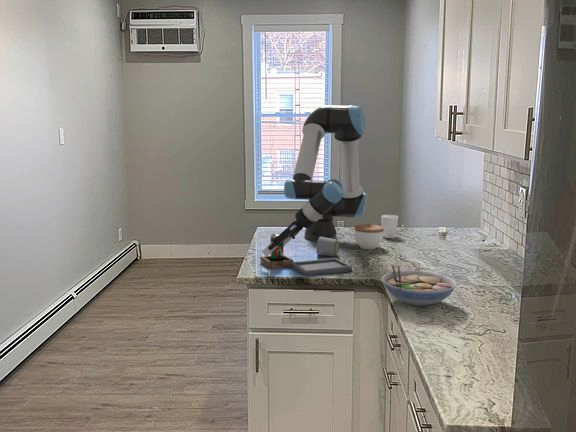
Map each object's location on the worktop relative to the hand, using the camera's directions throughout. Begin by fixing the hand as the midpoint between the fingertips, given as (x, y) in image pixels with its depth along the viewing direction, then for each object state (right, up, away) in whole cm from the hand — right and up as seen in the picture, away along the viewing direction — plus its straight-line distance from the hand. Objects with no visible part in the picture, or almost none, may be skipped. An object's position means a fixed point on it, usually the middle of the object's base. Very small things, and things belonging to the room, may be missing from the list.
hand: (271, 250), depth 225 cm
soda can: (+2, -6, 0) cm, 6 cm away
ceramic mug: (+23, -3, +17) cm, 29 cm away
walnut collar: (+2, -6, 0) cm, 6 cm away
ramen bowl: (+47, -14, -43) cm, 65 cm away
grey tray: (+19, -7, -6) cm, 21 cm away
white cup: (+55, +3, +54) cm, 77 cm away
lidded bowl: (+42, -1, +32) cm, 52 cm away
